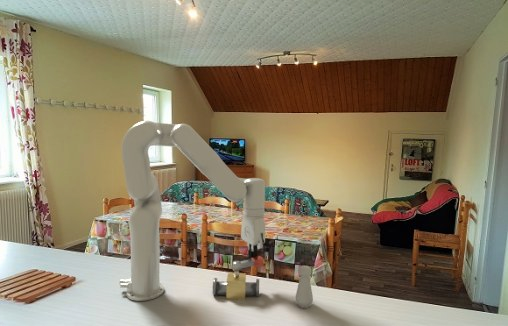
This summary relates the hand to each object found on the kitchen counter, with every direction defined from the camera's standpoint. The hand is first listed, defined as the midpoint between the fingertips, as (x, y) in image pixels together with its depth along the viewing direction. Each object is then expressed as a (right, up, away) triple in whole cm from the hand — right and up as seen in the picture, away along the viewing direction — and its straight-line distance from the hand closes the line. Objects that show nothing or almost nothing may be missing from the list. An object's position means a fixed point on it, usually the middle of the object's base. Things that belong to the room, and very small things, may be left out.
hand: (252, 260), depth 118 cm
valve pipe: (-6, -10, -6) cm, 13 cm away
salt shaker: (+17, -12, -12) cm, 24 cm away
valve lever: (-2, -1, -5) cm, 5 cm away
